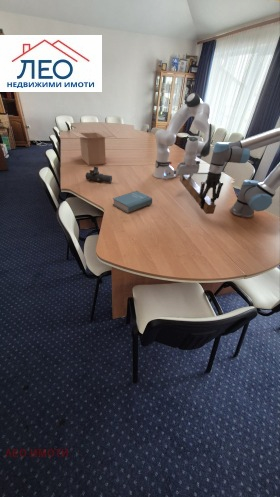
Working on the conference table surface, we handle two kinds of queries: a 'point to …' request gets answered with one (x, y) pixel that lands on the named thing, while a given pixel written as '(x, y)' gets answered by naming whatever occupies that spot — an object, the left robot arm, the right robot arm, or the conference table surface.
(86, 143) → the box
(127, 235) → the conference table surface
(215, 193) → the right robot arm
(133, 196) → the book
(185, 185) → the bar
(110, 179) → the laser sight
